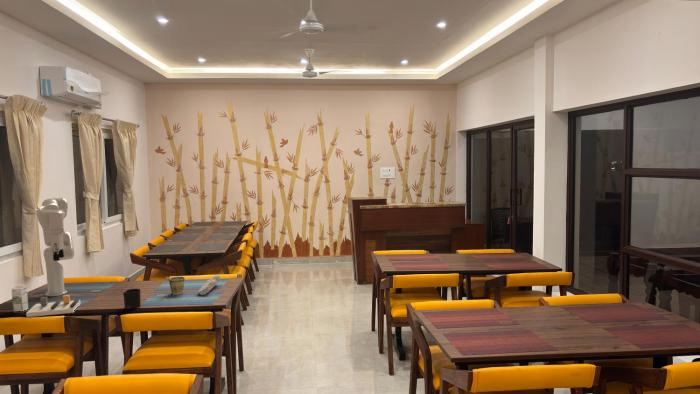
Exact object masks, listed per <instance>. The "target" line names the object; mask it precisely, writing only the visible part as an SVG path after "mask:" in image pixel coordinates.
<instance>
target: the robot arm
mask: <svg viewBox="0 0 700 394" xmlns="http://www.w3.org/2000/svg"><path fill="white" fill-rule="evenodd" d="M41 204H42V205H41V206H40V207H39V208H38V209H37V210H36V218H37V222H38V224H39V225H40V227H41V228H42V233H43V241H44V244H45V246H46V248H45V249H44V250H43V257H44V262H45V271H46V283H47V284H46V285H47V292H45V294H44V295H45V297H57V296H62V295H63V296H64V295H67V293H68V290H67V289H65V277H64V268H63V265H62V264H61V263H60V261H65V260H67V261H68V260H71V259H73V258H74V256H75V248H74V243H73V237H72V233H71V232H70V231H66V230H65V227H64V220H65V218H66V217H67V215H68V209H69V206H68V205H69V203H68V201H67V199H66V198H64V197H57V198H56V197H55V198H47V199H46V198H45V200H43V201H42V203H41Z"/></svg>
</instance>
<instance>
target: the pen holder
mask: <svg viewBox="0 0 700 394" xmlns="http://www.w3.org/2000/svg"><path fill="white" fill-rule="evenodd" d="M122 292H123V291H122ZM122 295H123V302H124V303H123V304H124V308H125V309H126V310H134V308H135V309H138V308H140V307H141V305H142V304H141V289H140V288H129V289H127V290H125V291H124V292H123V294H122ZM137 307H138V308H137Z"/></svg>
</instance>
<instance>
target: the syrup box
mask: <svg viewBox="0 0 700 394" xmlns="http://www.w3.org/2000/svg"><path fill="white" fill-rule="evenodd" d="M27 288H28V287H27V285H21V286H20V285H19V286H14V287H12V288H11V299H12V301H11V302H12V312H13V311H24V310H27V309H28V310H29V301H28V289H27ZM28 310H27V311H28Z"/></svg>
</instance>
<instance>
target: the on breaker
mask: <svg viewBox="0 0 700 394" xmlns="http://www.w3.org/2000/svg"><path fill="white" fill-rule="evenodd" d="M48 303H49V300H48V296H41V297H40V304H41V306H44V305H47V304H48Z"/></svg>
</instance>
